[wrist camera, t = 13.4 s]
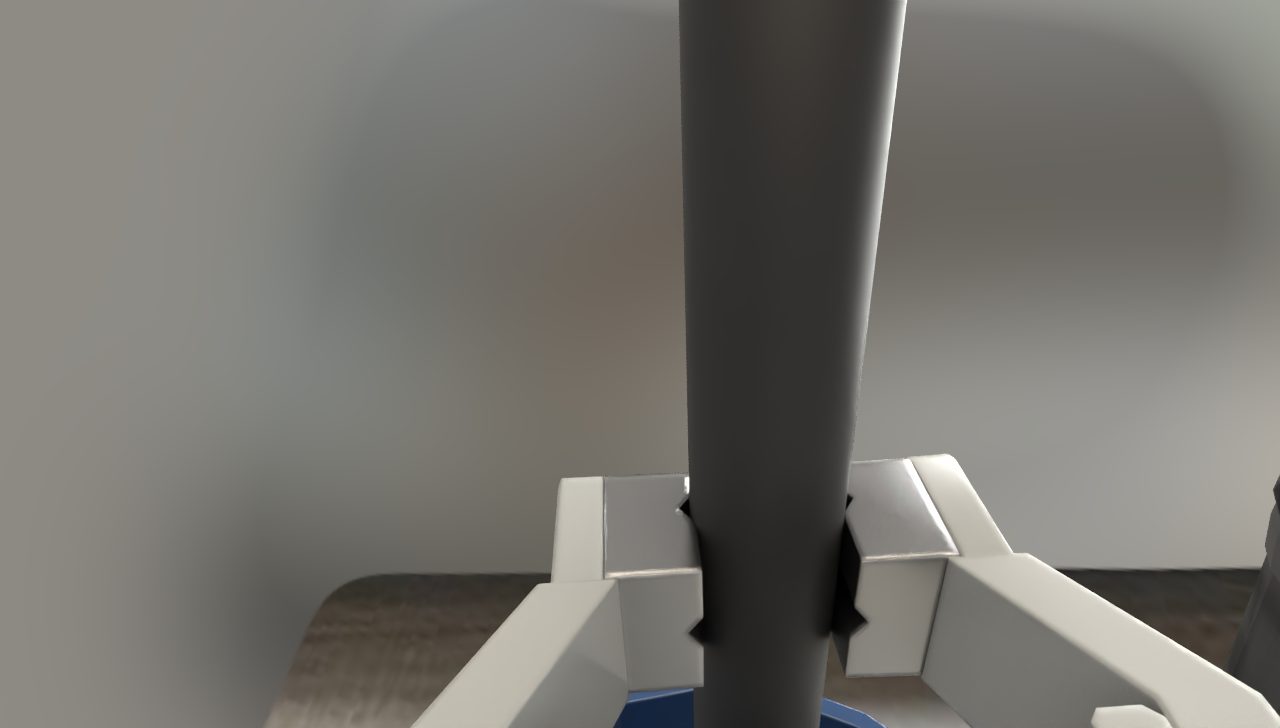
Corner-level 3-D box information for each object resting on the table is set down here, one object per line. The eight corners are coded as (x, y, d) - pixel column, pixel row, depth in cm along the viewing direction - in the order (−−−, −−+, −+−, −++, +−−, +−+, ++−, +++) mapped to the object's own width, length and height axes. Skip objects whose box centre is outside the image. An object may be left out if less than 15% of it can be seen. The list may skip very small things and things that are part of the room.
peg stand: (539, 1165, 12) (-182, -683, 2) (607, 778, 17) (470, -305, 7) (953, 1241, 11) (2554, -1214, 1) (895, 810, 16) (1163, -370, 6)
